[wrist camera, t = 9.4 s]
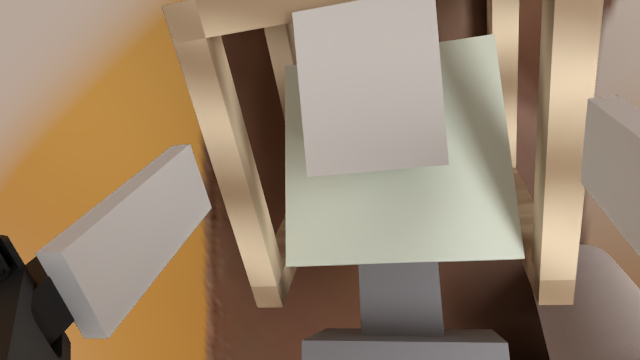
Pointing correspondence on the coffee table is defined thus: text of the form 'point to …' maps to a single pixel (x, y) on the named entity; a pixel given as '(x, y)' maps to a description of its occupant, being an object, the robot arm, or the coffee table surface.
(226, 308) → the coffee table surface
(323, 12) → the light gray block
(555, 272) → the maple stand
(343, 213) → the trapdoor
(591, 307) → the coffee cup
